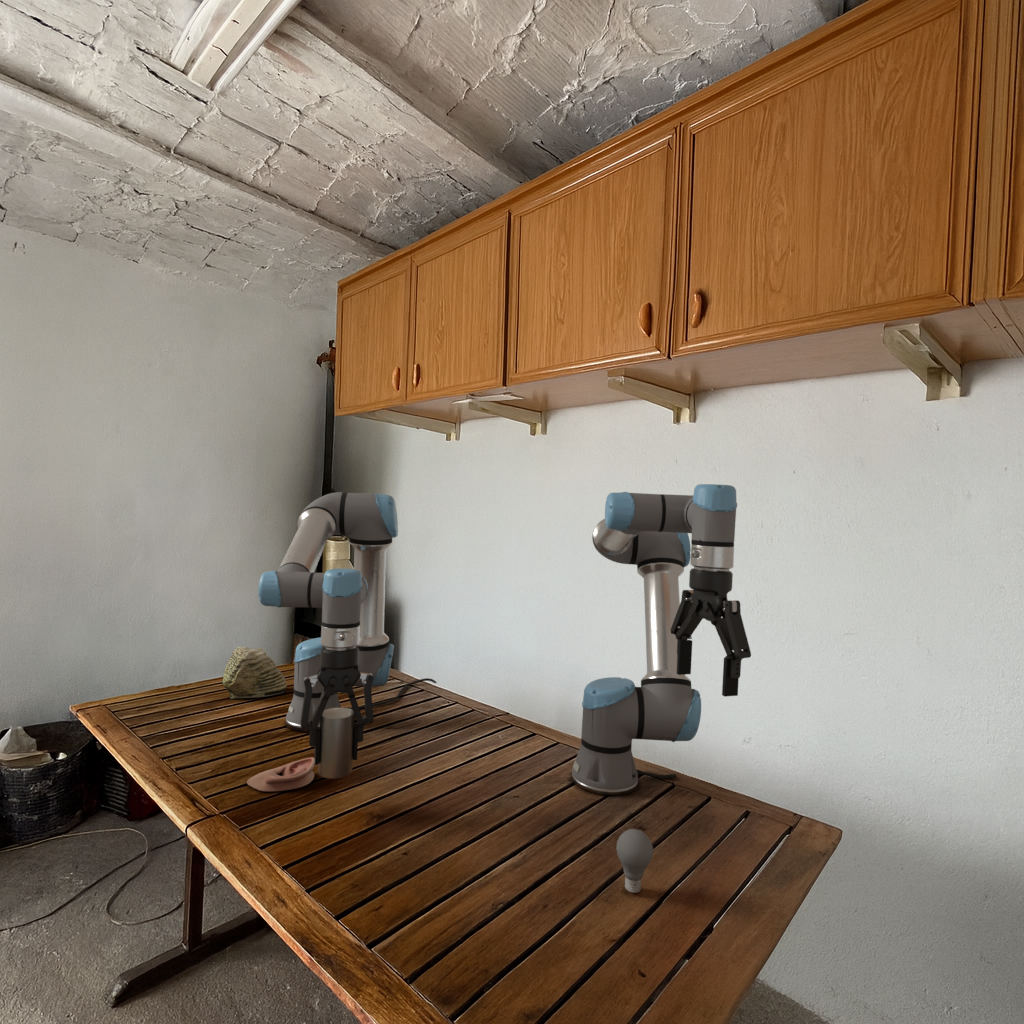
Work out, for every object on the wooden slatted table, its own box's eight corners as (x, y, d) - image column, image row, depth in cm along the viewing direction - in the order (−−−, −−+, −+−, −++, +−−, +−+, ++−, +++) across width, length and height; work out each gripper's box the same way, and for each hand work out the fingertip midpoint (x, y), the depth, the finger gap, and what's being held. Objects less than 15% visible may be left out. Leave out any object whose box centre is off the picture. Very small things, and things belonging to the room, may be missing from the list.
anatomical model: (238, 769, 136) (269, 749, 147) (238, 787, 136) (269, 766, 147) (295, 777, 133) (322, 756, 144) (294, 796, 133) (321, 773, 144)
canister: (341, 780, 124) (343, 720, 124) (311, 775, 126) (313, 715, 125) (358, 767, 130) (360, 709, 130) (329, 762, 132) (331, 705, 132)
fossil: (218, 695, 195) (220, 647, 195) (278, 685, 208) (279, 640, 207) (228, 703, 189) (230, 653, 188) (289, 692, 201) (290, 645, 201)
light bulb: (610, 879, 108) (613, 822, 108) (644, 879, 109) (647, 822, 109) (619, 902, 102) (622, 840, 102) (655, 901, 103) (658, 840, 103)
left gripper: (289, 652, 121) (284, 772, 121) (392, 648, 128) (387, 761, 128) (288, 643, 128) (283, 757, 128) (385, 640, 135) (381, 747, 135)
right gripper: (656, 561, 126) (651, 667, 127) (740, 577, 103) (733, 707, 103) (688, 561, 129) (682, 665, 129) (777, 577, 105) (770, 704, 106)
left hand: (335, 759), depth 128 cm, fingers closed on canister, 7 cm apart
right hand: (705, 684), depth 116 cm, fingers open, 13 cm apart
